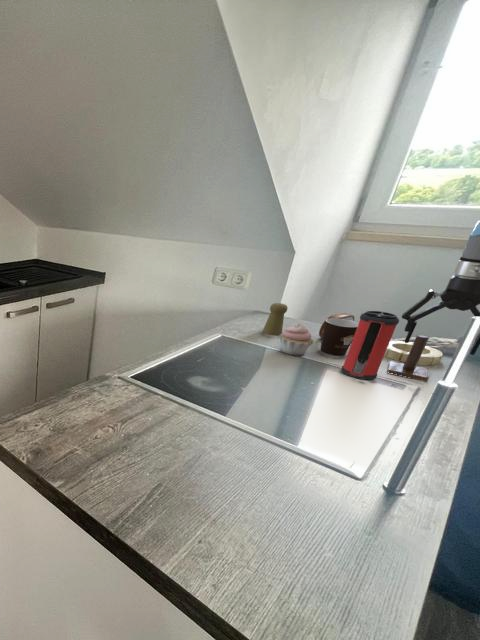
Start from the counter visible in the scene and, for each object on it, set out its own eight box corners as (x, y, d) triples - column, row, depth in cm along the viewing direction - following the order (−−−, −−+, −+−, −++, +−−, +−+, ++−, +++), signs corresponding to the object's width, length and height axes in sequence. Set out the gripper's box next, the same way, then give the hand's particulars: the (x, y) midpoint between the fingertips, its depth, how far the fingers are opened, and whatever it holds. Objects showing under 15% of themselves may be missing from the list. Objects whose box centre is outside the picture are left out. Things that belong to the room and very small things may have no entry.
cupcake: (272, 345, 132) (280, 317, 128) (305, 349, 129) (314, 320, 125) (277, 355, 125) (285, 325, 121) (312, 359, 121) (322, 329, 117)
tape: (438, 355, 122) (441, 347, 120) (439, 369, 113) (443, 361, 112) (379, 344, 130) (382, 337, 129) (377, 356, 121) (380, 349, 120)
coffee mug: (320, 355, 124) (330, 325, 120) (312, 345, 131) (321, 317, 127) (366, 360, 120) (378, 329, 116) (355, 349, 127) (366, 320, 123)
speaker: (337, 374, 112) (359, 314, 104) (343, 366, 116) (365, 308, 109) (373, 382, 106) (398, 320, 99) (378, 374, 111) (402, 313, 103)
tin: (340, 332, 142) (348, 310, 138) (350, 335, 139) (359, 312, 136) (315, 339, 136) (322, 316, 133) (325, 342, 134) (333, 318, 130)
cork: (285, 335, 140) (293, 306, 136) (266, 335, 141) (274, 305, 137) (277, 330, 146) (285, 301, 141) (259, 329, 147) (267, 301, 142)
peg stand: (426, 372, 111) (443, 335, 107) (426, 381, 106) (444, 343, 101) (388, 364, 116) (403, 329, 112) (387, 373, 111) (402, 336, 107)
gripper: (409, 273, 113) (381, 340, 122) (547, 286, 97) (503, 362, 106) (409, 269, 118) (382, 334, 127) (541, 281, 102) (499, 354, 111)
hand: (437, 347), depth 116 cm, fingers open, 13 cm apart
